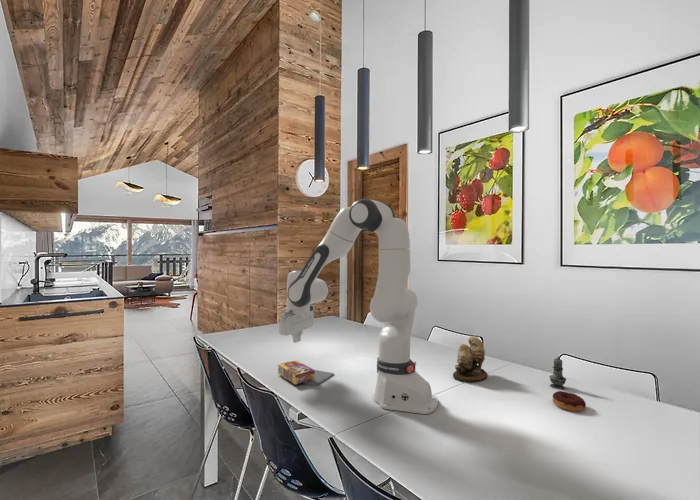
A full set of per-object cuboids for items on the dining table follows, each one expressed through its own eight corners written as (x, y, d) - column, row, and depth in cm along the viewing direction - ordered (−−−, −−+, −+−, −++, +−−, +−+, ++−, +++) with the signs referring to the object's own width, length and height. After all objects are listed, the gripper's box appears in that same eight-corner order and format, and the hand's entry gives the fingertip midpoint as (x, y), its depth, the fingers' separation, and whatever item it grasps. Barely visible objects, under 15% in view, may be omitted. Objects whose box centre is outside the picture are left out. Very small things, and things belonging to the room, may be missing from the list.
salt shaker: (551, 382, 147) (552, 353, 147) (568, 387, 143) (568, 356, 142) (546, 386, 143) (547, 356, 142) (563, 391, 138) (564, 359, 138)
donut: (586, 416, 118) (587, 404, 118) (552, 409, 123) (552, 397, 123) (584, 404, 127) (584, 393, 127) (552, 398, 132) (552, 387, 132)
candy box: (277, 374, 151) (294, 385, 139) (277, 363, 151) (294, 373, 139) (296, 370, 156) (315, 380, 144) (296, 360, 156) (315, 369, 144)
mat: (334, 374, 152) (334, 373, 152) (316, 386, 140) (316, 384, 140) (301, 368, 159) (301, 367, 159) (282, 378, 147) (282, 377, 147)
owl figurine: (469, 368, 164) (470, 330, 163) (494, 375, 155) (495, 335, 155) (446, 377, 151) (447, 336, 151) (472, 385, 143) (473, 342, 142)
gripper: (288, 313, 141) (288, 349, 141) (316, 305, 160) (316, 337, 160) (275, 311, 144) (275, 346, 144) (304, 304, 162) (303, 335, 162)
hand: (296, 341), depth 152 cm, fingers closed
